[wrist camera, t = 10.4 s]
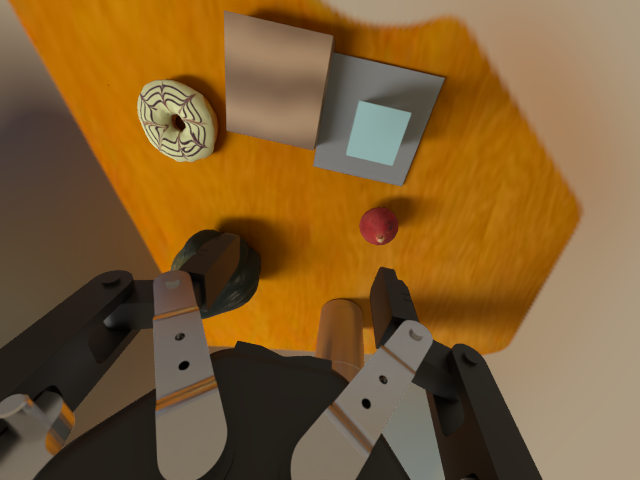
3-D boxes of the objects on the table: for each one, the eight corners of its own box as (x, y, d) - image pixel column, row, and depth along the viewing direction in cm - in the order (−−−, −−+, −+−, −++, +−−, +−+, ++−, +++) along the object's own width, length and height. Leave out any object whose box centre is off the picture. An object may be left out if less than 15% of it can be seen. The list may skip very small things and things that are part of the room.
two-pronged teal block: (398, 109, 31) (411, 113, 24) (384, 151, 34) (392, 165, 27) (357, 99, 31) (359, 100, 24) (347, 143, 34) (346, 155, 27)
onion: (384, 193, 38) (391, 214, 31) (400, 220, 40) (410, 246, 33) (352, 211, 40) (353, 234, 33) (369, 236, 42) (373, 263, 35)
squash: (212, 209, 37) (137, 292, 32) (285, 264, 41) (230, 344, 37) (208, 221, 49) (154, 282, 44) (265, 263, 54) (222, 322, 49)
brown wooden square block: (317, 145, 35) (313, 150, 32) (238, 127, 35) (226, 130, 32) (335, 42, 29) (333, 35, 25) (239, 20, 29) (224, 10, 25)
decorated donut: (229, 158, 38) (217, 164, 35) (167, 157, 39) (150, 163, 36) (212, 79, 32) (197, 78, 29) (141, 81, 33) (118, 80, 30)
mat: (401, 185, 37) (401, 186, 36) (313, 165, 37) (313, 166, 36) (443, 78, 29) (444, 78, 29) (333, 53, 29) (333, 52, 29)
